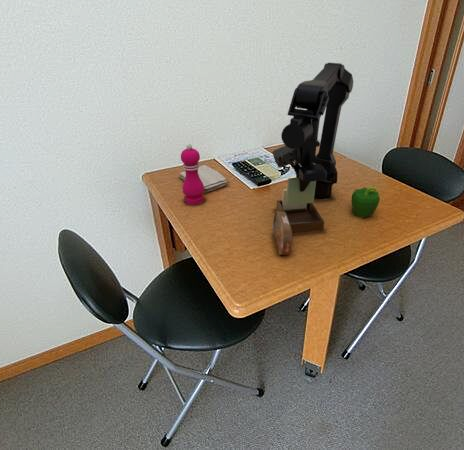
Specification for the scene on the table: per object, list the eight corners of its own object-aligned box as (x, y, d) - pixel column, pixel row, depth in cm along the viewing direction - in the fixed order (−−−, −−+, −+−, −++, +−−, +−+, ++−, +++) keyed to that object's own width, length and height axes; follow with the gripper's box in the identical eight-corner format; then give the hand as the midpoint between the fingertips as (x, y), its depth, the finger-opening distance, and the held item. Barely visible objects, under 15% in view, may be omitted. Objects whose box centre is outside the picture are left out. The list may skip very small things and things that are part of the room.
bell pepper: (344, 214, 109) (349, 187, 104) (355, 205, 114) (360, 178, 109) (368, 224, 105) (375, 195, 99) (379, 213, 110) (386, 186, 104)
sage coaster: (286, 203, 98) (287, 178, 93) (312, 201, 99) (315, 176, 95) (287, 205, 97) (288, 179, 93) (313, 202, 98) (316, 177, 94)
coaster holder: (276, 210, 111) (276, 200, 109) (307, 207, 113) (308, 197, 111) (287, 235, 99) (288, 224, 97) (322, 232, 101) (324, 221, 99)
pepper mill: (201, 206, 113) (196, 149, 102) (180, 204, 114) (173, 147, 103) (207, 196, 119) (203, 141, 108) (188, 194, 120) (182, 139, 109)
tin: (272, 229, 102) (273, 205, 97) (282, 229, 102) (284, 204, 97) (280, 261, 89) (281, 235, 85) (291, 261, 90) (294, 234, 85)
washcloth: (203, 195, 119) (202, 187, 118) (177, 177, 131) (177, 170, 129) (230, 185, 126) (230, 178, 124) (203, 170, 137) (203, 162, 135)
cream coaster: (281, 211, 110) (283, 189, 105) (305, 209, 111) (307, 187, 106) (282, 212, 109) (283, 190, 104) (306, 210, 110) (308, 188, 106)
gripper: (267, 126, 93) (266, 178, 102) (286, 151, 78) (282, 209, 87) (306, 124, 95) (301, 175, 104) (331, 148, 80) (323, 205, 89)
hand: (301, 190), depth 96 cm, fingers closed on sage coaster, 1 cm apart
